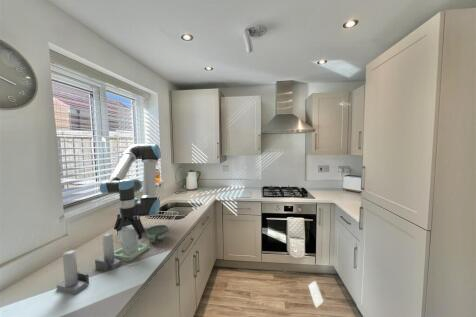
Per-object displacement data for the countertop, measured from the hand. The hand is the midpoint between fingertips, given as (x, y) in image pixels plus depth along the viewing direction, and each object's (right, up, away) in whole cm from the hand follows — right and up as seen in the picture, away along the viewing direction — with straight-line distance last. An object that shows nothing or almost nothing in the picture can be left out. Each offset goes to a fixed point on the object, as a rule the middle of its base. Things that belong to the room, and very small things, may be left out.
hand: (129, 242), depth 116 cm
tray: (0, -6, 0) cm, 6 cm away
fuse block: (-8, -8, -19) cm, 22 cm away
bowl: (+10, -5, +15) cm, 19 cm away
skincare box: (+1, -6, 0) cm, 6 cm away
